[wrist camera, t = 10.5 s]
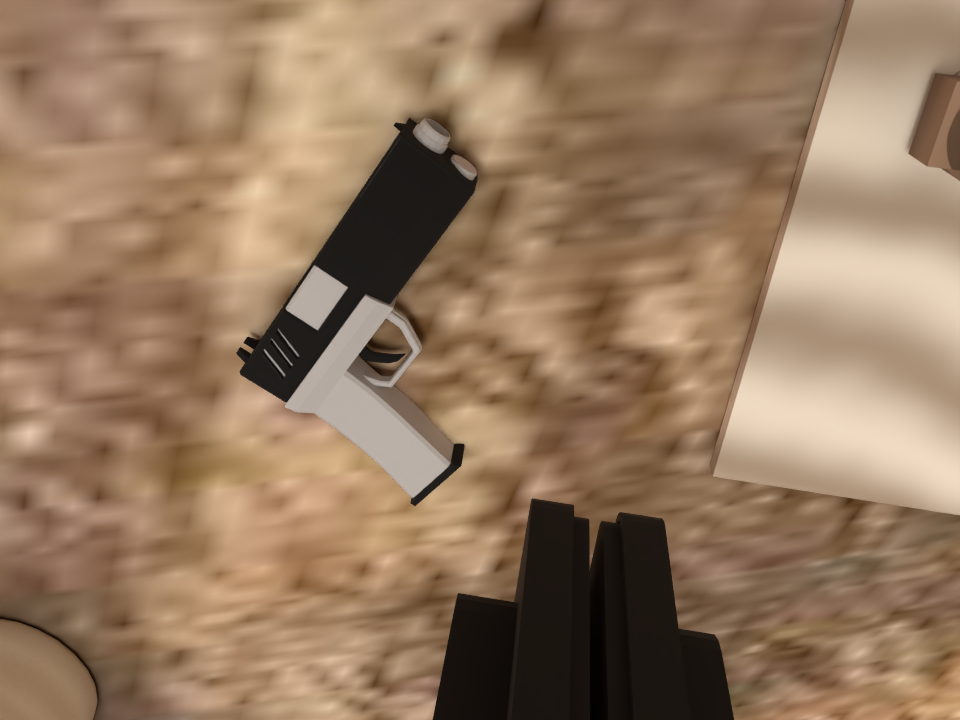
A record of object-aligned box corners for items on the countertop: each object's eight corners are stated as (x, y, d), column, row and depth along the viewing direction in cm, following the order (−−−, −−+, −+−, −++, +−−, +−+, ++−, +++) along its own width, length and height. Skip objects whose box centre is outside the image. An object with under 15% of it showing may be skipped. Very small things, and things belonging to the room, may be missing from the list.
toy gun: (631, 283, 35) (396, 110, 32) (420, 515, 42) (211, 389, 39) (625, 255, 38) (408, 93, 35) (428, 477, 45) (234, 357, 42)
